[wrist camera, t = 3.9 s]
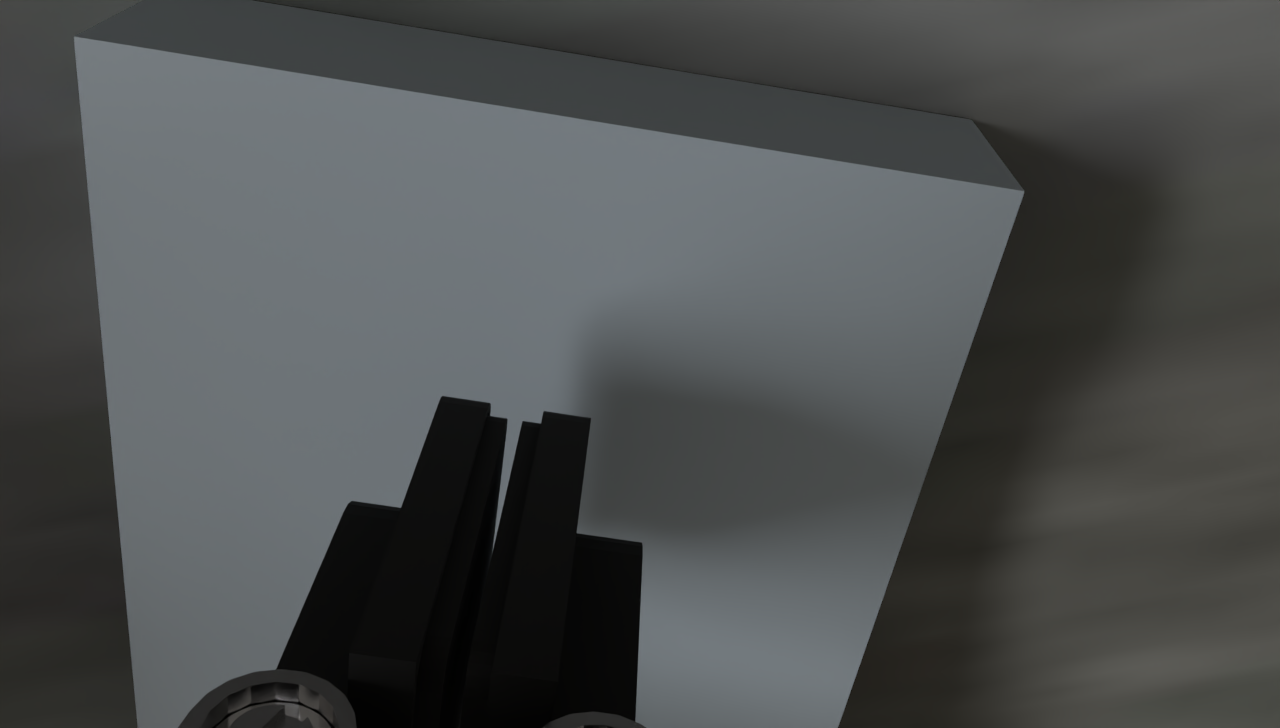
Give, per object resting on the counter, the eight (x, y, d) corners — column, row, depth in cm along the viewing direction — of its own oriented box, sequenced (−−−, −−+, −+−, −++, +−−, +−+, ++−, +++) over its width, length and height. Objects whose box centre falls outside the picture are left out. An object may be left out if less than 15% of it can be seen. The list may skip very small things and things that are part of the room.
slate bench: (170, -14, 14) (73, 35, 11) (971, 119, 14) (1024, 191, 12) (218, 963, 24) (171, 1090, 21) (689, 1021, 24) (690, 1150, 22)
